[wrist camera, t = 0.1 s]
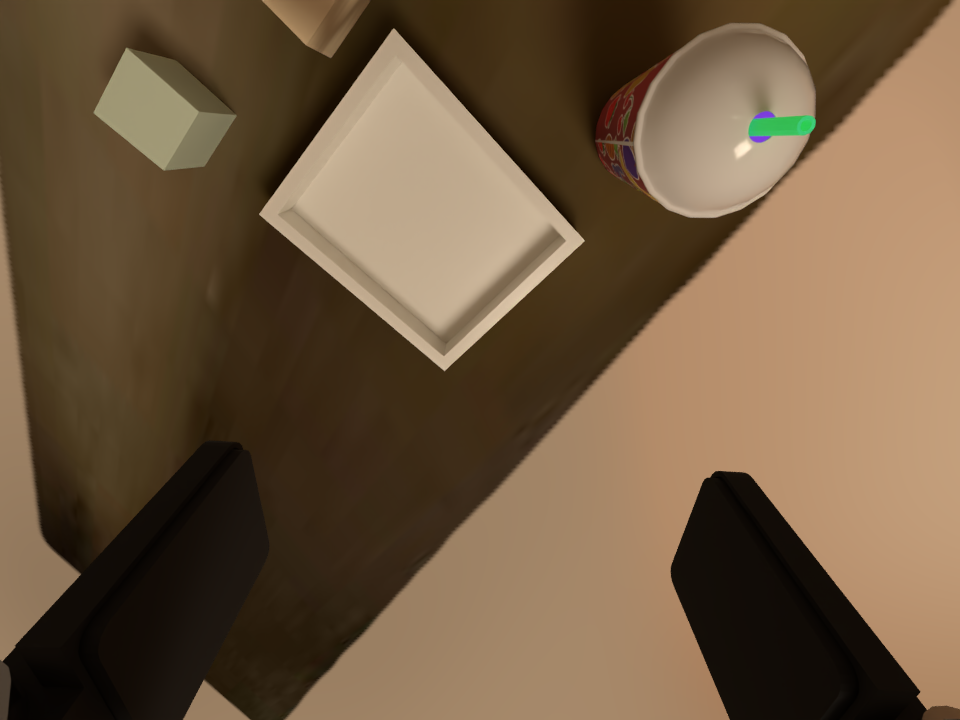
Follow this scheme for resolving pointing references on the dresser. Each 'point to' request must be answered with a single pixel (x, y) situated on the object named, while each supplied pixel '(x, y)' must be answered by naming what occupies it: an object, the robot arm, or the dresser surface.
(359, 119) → the tray
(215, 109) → the sage block
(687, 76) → the smoothie
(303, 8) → the maple block
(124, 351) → the dresser surface
